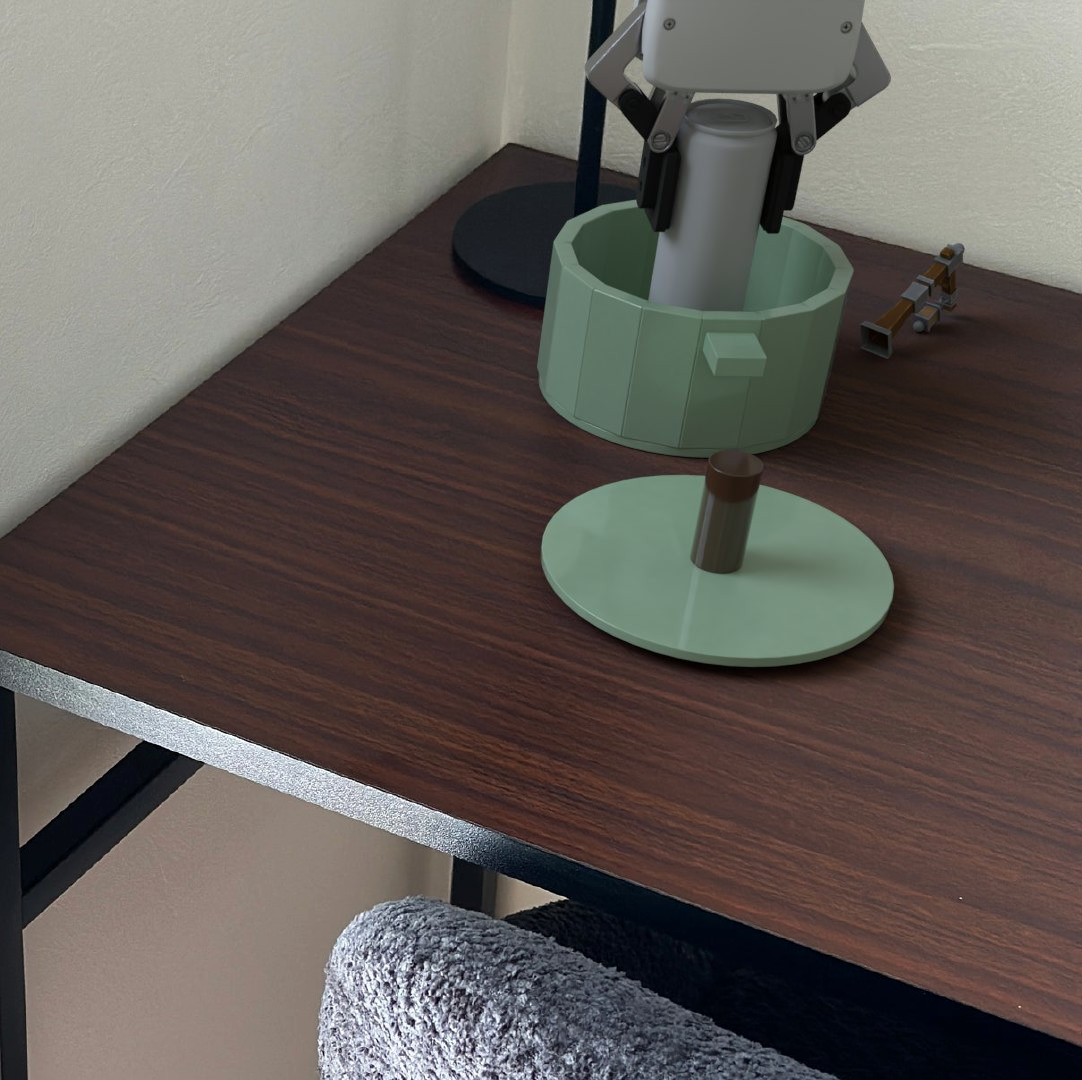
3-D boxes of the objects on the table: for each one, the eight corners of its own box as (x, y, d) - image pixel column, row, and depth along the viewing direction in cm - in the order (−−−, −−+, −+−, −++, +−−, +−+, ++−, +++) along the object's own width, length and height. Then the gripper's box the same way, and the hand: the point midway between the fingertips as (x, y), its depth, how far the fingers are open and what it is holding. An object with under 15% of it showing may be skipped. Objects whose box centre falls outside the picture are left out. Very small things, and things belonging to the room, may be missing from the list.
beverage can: (632, 324, 112) (669, 97, 104) (721, 323, 112) (765, 97, 104) (653, 365, 108) (693, 133, 100) (745, 364, 108) (792, 133, 101)
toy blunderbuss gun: (975, 300, 119) (976, 238, 115) (889, 392, 117) (888, 332, 114) (947, 290, 120) (947, 228, 116) (862, 381, 118) (859, 321, 115)
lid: (839, 496, 103) (867, 382, 100) (931, 680, 91) (967, 558, 87) (517, 492, 103) (532, 377, 99) (566, 677, 91) (585, 554, 87)
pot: (773, 309, 120) (800, 180, 115) (865, 486, 104) (900, 346, 99) (514, 305, 119) (530, 176, 115) (568, 483, 104) (589, 341, 99)
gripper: (945, -189, 97) (859, 195, 109) (579, -196, 97) (531, 191, 108) (994, -145, 92) (898, 255, 103) (605, -153, 91) (552, 251, 103)
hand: (711, 218), depth 106 cm, fingers closed on beverage can, 4 cm apart
